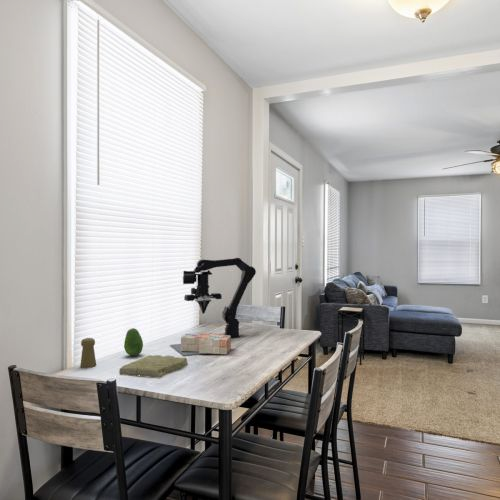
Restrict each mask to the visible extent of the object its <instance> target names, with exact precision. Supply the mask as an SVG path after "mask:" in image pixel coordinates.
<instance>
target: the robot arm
mask: <svg viewBox="0 0 500 500" xmlns="http://www.w3.org/2000/svg"><path fill="white" fill-rule="evenodd" d="M230 266H231V267H232V266H236V267H237V268H238V269H239V270H240V271H241V276H240V282H239V283H238V286H237V288H236V290H235V291H234V295H233V297H232V298H231V301H230V303H229V305H228V306H227V305H226V306H224V308H223V311H222V312H221V315H222V316H221V317H222V320H224V322H225V327H224V335H230V336H231V339H232V338H234V339H235V338H240V337H241V335H240V321H239V320H238V319H237V318H236V316H237V313H238V312H237V310H238V307H239V304H240V302H241V300H242V298H243V295H244V293H245V291H246V288H247V287H248V285H249V284H250V282H251V281H252V280H253V278H254V277H255V275H256V273H257V271H256V269H255V267H254V266H250V265H249V264H247V263H246V262H245V261H243V260H242V259H241V258H240V257H234V258H225V259H216V260H213V259H199V260H198V261H197V262H196V266H195V268H194V270H190V271H189V270H188V271H187V270H183V273H182V274H183V275H182V284H183V285H194V284H195V283H196V282H197V283H196V284H197V285H196V287H191V288H190V294H185V295H184V297H183V298H184V299H183V300H184V301H186V302H193V301H195V302H196V303H198V305H199V307H200V310H201V313H202V314H205V313H206V311H207V308H208V306H209V304H210V303H211V302H212V299H215V300H222V294H221V293H219V292H211V294H210V293H209V290H210V285H209V275H210V276H212V275H213V273H212V272H211V271H210V270H211V269H213V268H214V269H215V268H221V267H230Z"/></svg>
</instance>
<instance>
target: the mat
mask: <svg viewBox="0 0 500 500" xmlns="http://www.w3.org/2000/svg"><path fill="white" fill-rule="evenodd" d="M169 347H170V348H172V349H174V351H176V352H177V353H179V354H180V355H181V356H182V357H189V356H199V355H207V354H208V353H199V352H193V351H181V343H175V344H170V345H169Z"/></svg>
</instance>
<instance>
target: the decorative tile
mask: <svg viewBox="0 0 500 500" xmlns="http://www.w3.org/2000/svg"><path fill="white" fill-rule="evenodd" d="M187 365H188V359H187V357H179V356H178V357H175V356H174V355H164V356H163V355H157V354H154V355H147V356H145V357H142V358H138V359H136V360H134V361H132V362H130V363H128V364H124V365H122V366H121V367H120V368H119V375H123V374H125V375H124V376H133V375H140V376H139V377H144V376H150V377H149V378H155V377H160V378H162V376H163V377H164V376H165V375H167V373H168V374H171V373H172V371H173V372H176V371H178V370H181V369H182V368H183V367H186V366H187Z"/></svg>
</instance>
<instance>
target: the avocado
mask: <svg viewBox="0 0 500 500" xmlns="http://www.w3.org/2000/svg"><path fill="white" fill-rule="evenodd" d="M123 347H124V351H125V352H126V354H128V355H129V356H133V357H134V356H135V357H136V356H139V355H140V354H141V353H142V352H143V347H144V342H143V339H142V336H141V334H140V332H139V330H137V329H136V328H130V329H128V330H127V332H126V333H125V338H124V345H123Z"/></svg>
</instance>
